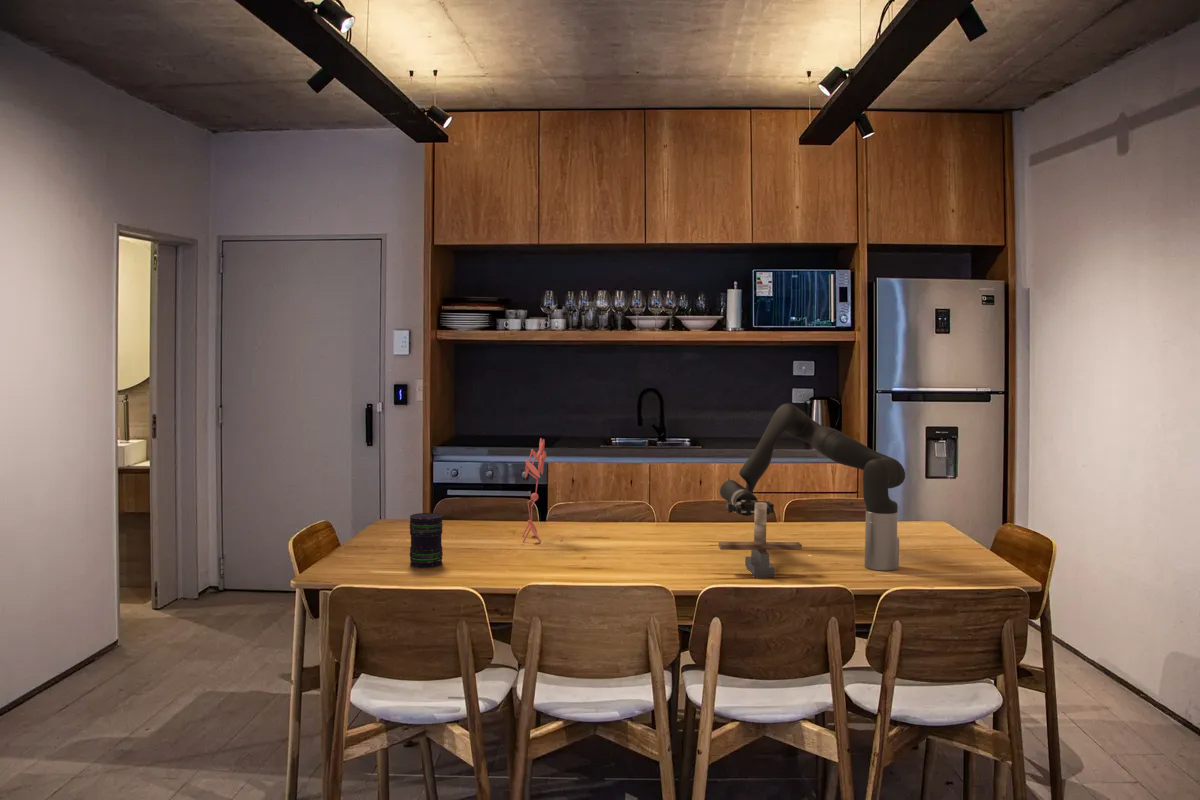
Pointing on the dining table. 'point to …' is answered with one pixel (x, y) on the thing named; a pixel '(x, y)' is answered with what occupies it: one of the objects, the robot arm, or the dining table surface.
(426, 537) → the storage jar
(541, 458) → the figurine
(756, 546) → the balance bar
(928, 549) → the dining table surface
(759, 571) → the ridge
